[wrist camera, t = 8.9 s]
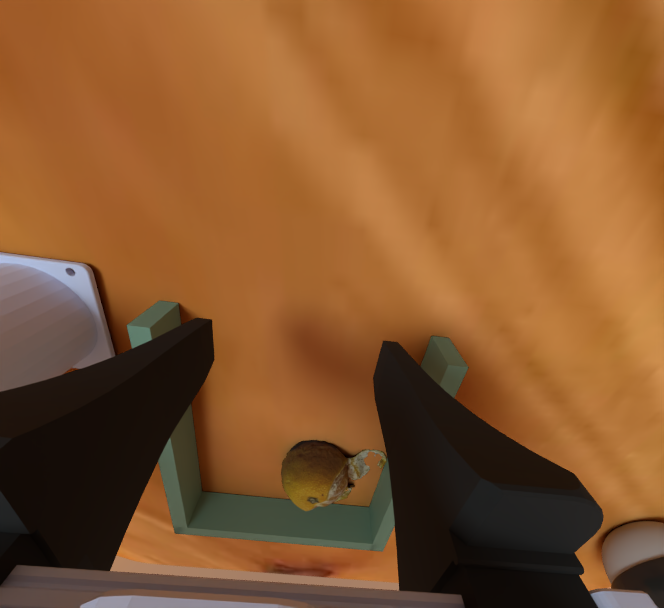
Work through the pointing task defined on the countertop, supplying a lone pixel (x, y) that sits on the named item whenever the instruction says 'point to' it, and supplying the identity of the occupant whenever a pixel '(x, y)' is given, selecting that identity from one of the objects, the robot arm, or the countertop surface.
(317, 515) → the green u-shaped bracket
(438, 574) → the robot arm
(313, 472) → the fruit
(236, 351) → the countertop surface
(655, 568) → the pump dispenser
